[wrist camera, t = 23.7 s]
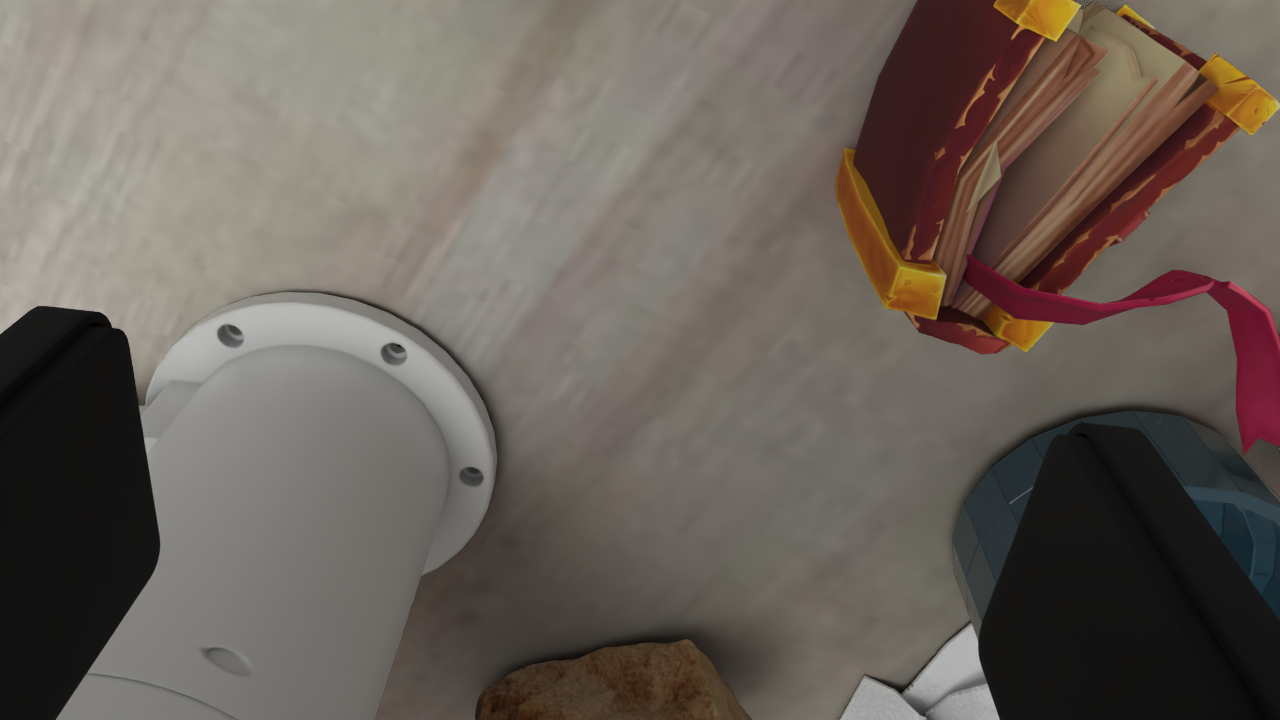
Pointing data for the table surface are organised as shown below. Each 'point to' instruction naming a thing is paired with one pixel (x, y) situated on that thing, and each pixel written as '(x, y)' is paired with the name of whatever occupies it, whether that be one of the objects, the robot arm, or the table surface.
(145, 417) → the robot arm
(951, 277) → the book monster
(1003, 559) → the bowl
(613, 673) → the decorative rock
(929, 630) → the table surface
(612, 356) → the table surface
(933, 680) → the cloth
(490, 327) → the table surface
